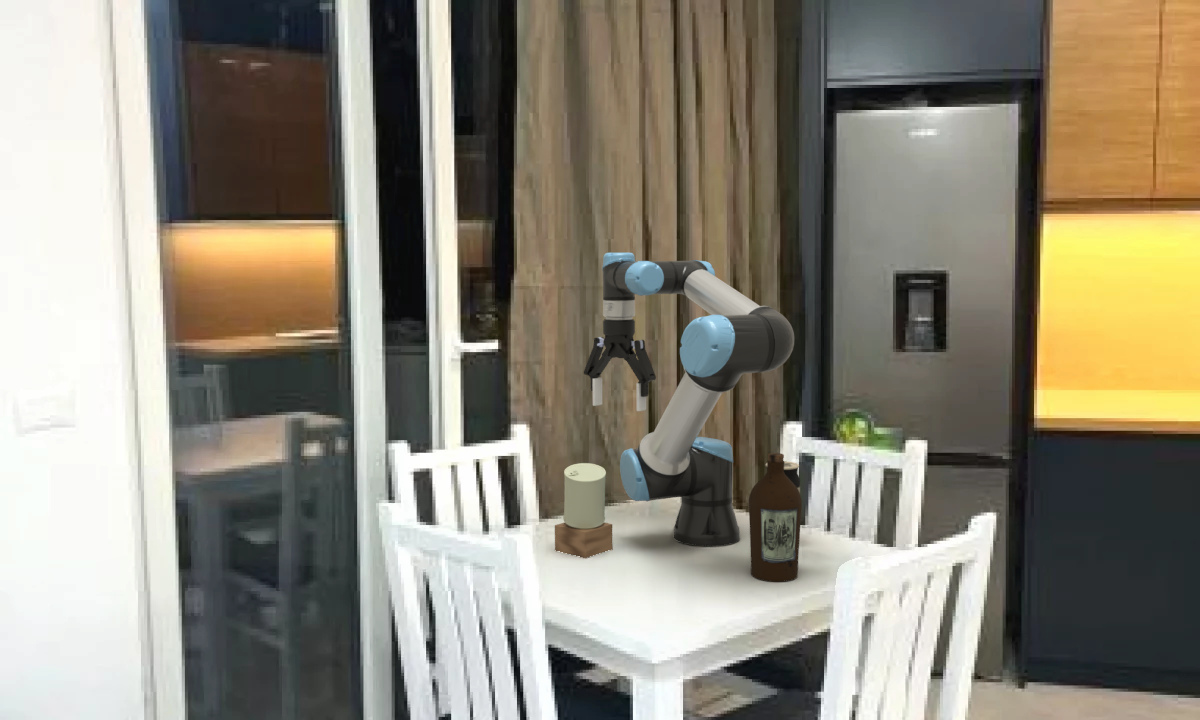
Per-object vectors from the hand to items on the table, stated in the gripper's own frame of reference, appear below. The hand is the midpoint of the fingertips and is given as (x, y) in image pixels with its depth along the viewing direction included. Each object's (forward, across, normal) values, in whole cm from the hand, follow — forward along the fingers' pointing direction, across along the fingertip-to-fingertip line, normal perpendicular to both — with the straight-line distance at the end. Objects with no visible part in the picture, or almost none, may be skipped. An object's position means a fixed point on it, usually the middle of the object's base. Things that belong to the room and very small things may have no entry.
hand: (619, 407), depth 254 cm
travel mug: (+29, +37, +13) cm, 49 cm away
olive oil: (+29, +49, -9) cm, 58 cm away
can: (+22, +7, -20) cm, 31 cm away
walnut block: (+29, +7, -21) cm, 36 cm away
